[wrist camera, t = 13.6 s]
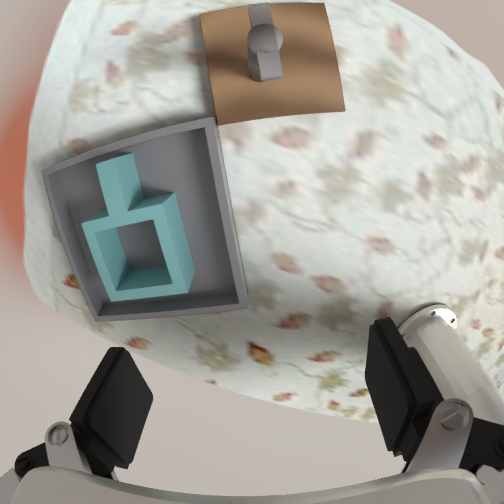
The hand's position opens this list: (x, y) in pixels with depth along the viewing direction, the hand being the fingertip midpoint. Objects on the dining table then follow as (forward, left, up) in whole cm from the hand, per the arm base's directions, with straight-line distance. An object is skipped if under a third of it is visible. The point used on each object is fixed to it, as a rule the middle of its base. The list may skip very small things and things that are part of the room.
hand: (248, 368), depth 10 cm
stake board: (+15, -5, -21) cm, 26 cm away
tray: (0, +11, -21) cm, 24 cm away
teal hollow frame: (+1, +11, -20) cm, 23 cm away
